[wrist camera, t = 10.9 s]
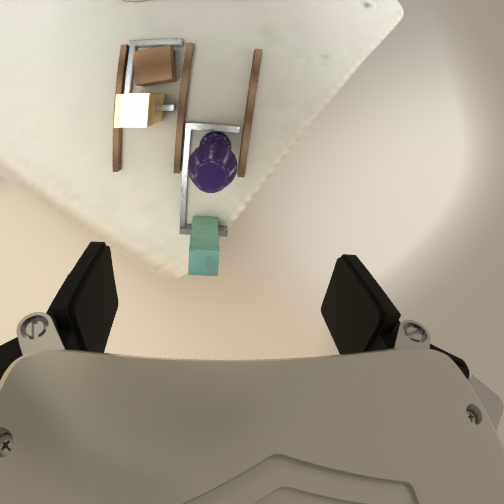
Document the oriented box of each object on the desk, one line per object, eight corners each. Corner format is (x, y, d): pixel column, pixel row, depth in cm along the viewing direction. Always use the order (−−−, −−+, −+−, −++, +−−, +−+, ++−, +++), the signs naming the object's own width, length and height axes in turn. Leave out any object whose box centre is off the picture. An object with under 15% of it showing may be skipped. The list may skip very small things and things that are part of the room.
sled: (133, 42, 27) (109, 27, 19) (183, 41, 29) (174, 23, 20) (124, 120, 33) (98, 128, 24) (173, 120, 34) (161, 127, 26)
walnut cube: (141, 56, 29) (133, 51, 25) (174, 50, 29) (169, 44, 25) (143, 86, 31) (135, 85, 27) (176, 81, 32) (171, 78, 28)
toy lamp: (199, 164, 38) (191, 208, 24) (192, 133, 36) (178, 156, 21) (233, 157, 38) (247, 197, 24) (227, 125, 36) (237, 144, 22)
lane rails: (124, 46, 27) (121, 44, 26) (260, 51, 31) (262, 49, 29) (116, 169, 36) (112, 171, 35) (242, 174, 40) (244, 177, 38)
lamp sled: (187, 122, 35) (178, 129, 26) (238, 125, 36) (247, 134, 27) (180, 236, 43) (173, 273, 35) (225, 239, 44) (229, 276, 36)
